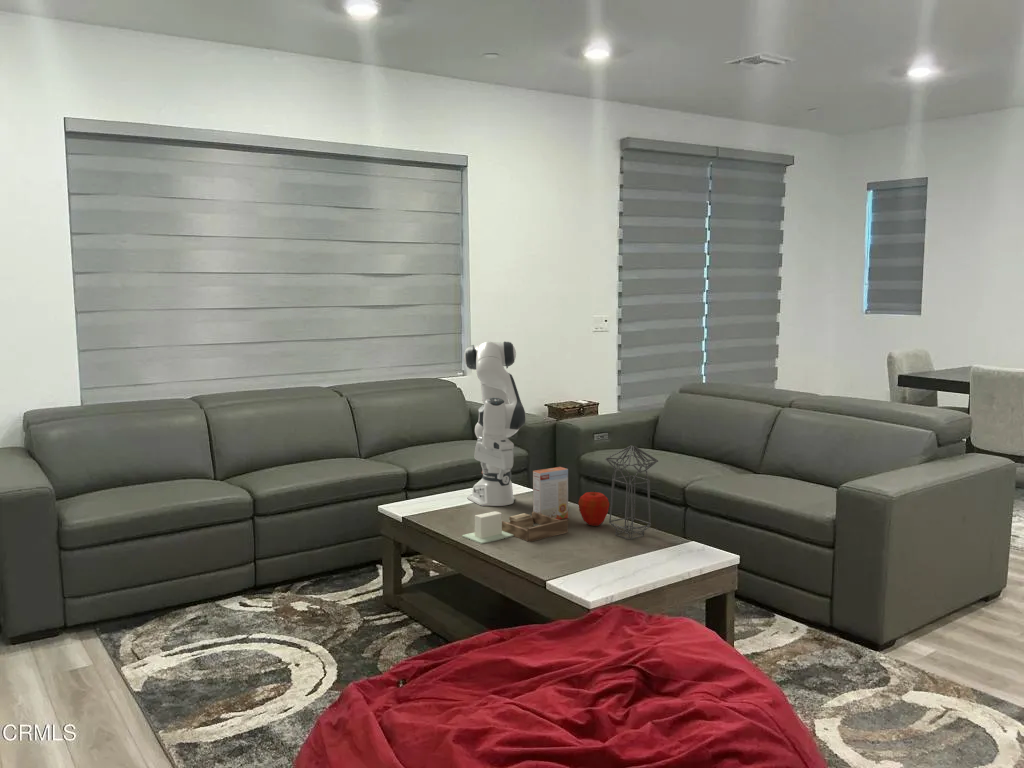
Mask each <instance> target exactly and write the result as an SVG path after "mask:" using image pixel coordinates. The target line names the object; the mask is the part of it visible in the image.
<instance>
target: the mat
mask: <svg viewBox="0 0 1024 768" xmlns="http://www.w3.org/2000/svg"><path fill="white" fill-rule="evenodd" d="M461 537H462V538H465V539H467V540H469V539H470V541H471V542H475V543H477V544H480V545H484V544H487V543H491V542H495V541H500V540H504V538H505V539H508V538H512V537H514V535H513V534H510V533H507V532H505V531H502V534H498V535H494V536H489V537H485V538H479V537H476V536H475V531H474V532H469V533H466V534H462V535H461Z"/></svg>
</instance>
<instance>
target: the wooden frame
mask: <svg viewBox="0 0 1024 768" xmlns="http://www.w3.org/2000/svg"><path fill="white" fill-rule="evenodd" d="M531 517H533V524H538V525H536V526H533V527H529V528H522V527H519V526H516V525H513V524H510V521H508V522H507V521H505V520H502V531H505V532H507V533H510V534H513V535H514V536H513V537H514V538H517V539H520V540H523V541H526V542H529V543H530V542H535V541H540V540H543V539H547V538H551V537H555V536H559V535H563V534H567V533H568V532H569V520H568V519H567V518H566V519H560V520H559V519H555V518H552V517H549V516H546V515H543V514H540V513H537V512H533V511H532V512H531Z"/></svg>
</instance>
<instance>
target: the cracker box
mask: <svg viewBox="0 0 1024 768" xmlns="http://www.w3.org/2000/svg"><path fill="white" fill-rule="evenodd" d="M532 497H533V498H532V501H533V502H532V504H533V505H532V508H533V509H532V512H537V513H540V514H543V515H546V516H549V517H552V518H555V519H559V520H565V519H566V520H567V519H568V518H569V468H565V467H563V466H557V467H550V468H543V469H537V470H532Z"/></svg>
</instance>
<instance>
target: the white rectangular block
mask: <svg viewBox="0 0 1024 768" xmlns="http://www.w3.org/2000/svg"><path fill="white" fill-rule="evenodd" d="M502 521H503V513H502V512H499V511H495V510H494V511H490V512H486V513H485V512H484V513H480V514H475V515H474V532H475V536H476V537H479V538H485V537H489V536H494V535H498V534H502Z"/></svg>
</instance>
